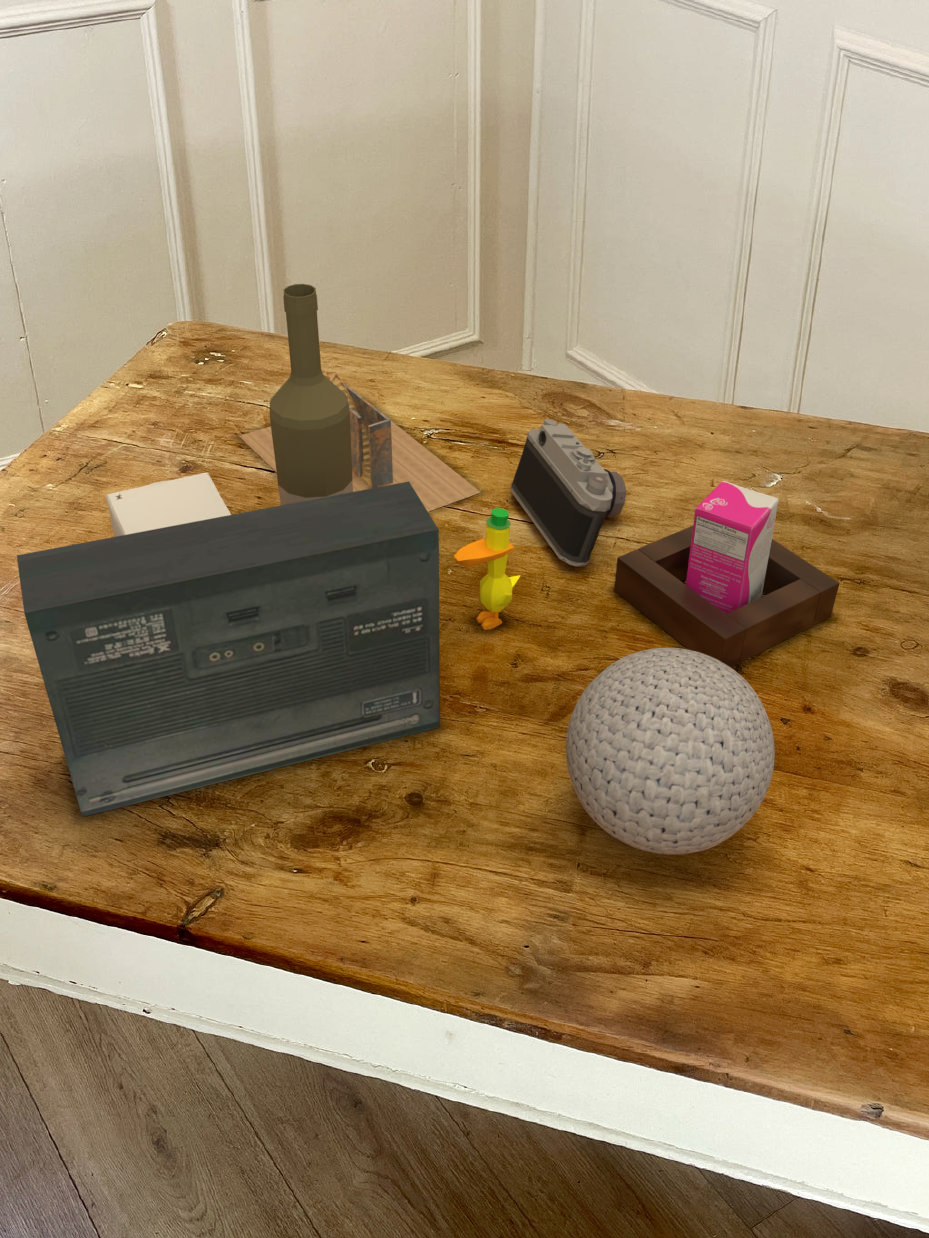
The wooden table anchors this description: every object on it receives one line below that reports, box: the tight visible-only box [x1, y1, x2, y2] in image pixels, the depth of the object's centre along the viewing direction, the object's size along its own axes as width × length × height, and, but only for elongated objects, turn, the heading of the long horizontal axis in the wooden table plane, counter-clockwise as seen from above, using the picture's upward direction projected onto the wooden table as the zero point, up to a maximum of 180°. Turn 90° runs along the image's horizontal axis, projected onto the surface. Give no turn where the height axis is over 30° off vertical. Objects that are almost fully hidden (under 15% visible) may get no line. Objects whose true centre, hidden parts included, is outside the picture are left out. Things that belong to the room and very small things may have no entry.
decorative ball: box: [565, 647, 776, 856], centre depth 87 cm, size 15×15×15 cm
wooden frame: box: [613, 525, 840, 668], centre depth 112 cm, size 14×14×4 cm
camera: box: [509, 418, 627, 567], centre depth 121 cm, size 16×9×10 cm, turn 20°
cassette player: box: [16, 481, 441, 818], centre depth 92 cm, size 29×7×20 cm, turn 110°
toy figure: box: [453, 507, 522, 631], centre depth 107 cm, size 7×4×12 cm, turn 119°
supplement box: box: [685, 480, 780, 614], centre depth 109 cm, size 6×6×12 cm
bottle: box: [269, 283, 353, 506], centre depth 105 cm, size 7×7×30 cm
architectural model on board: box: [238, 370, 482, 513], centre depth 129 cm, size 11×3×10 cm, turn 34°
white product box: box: [105, 472, 232, 537], centre depth 103 cm, size 9×9×15 cm
